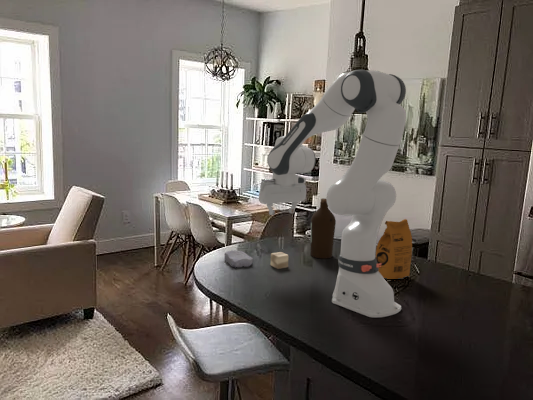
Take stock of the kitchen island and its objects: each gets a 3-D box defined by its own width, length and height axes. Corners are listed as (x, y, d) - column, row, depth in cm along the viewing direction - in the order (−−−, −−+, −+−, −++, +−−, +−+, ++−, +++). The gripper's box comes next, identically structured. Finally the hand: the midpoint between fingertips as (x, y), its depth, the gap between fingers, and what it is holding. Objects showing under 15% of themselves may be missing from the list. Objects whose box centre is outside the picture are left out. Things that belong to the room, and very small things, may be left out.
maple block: (287, 267, 173) (288, 255, 172) (277, 269, 170) (278, 256, 169) (280, 263, 177) (281, 251, 176) (270, 265, 174) (270, 253, 174)
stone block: (243, 261, 184) (221, 259, 179) (246, 251, 183) (224, 248, 179) (254, 271, 173) (231, 269, 169) (257, 260, 173) (234, 257, 168)
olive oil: (336, 254, 193) (340, 198, 189) (328, 260, 183) (332, 201, 179) (314, 250, 198) (317, 196, 193) (305, 256, 188) (308, 199, 184)
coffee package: (369, 274, 167) (374, 218, 164) (394, 271, 173) (399, 216, 169) (388, 283, 159) (393, 224, 155) (413, 279, 164) (418, 221, 161)
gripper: (265, 180, 160) (263, 217, 162) (309, 178, 171) (307, 213, 173) (256, 178, 165) (254, 214, 167) (299, 176, 176) (297, 210, 178)
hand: (281, 213), depth 170 cm, fingers open, 8 cm apart
